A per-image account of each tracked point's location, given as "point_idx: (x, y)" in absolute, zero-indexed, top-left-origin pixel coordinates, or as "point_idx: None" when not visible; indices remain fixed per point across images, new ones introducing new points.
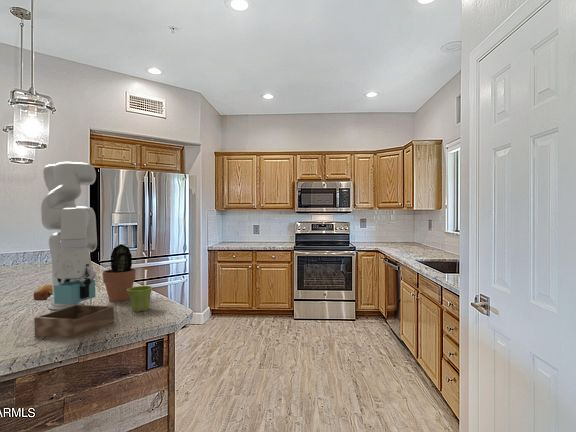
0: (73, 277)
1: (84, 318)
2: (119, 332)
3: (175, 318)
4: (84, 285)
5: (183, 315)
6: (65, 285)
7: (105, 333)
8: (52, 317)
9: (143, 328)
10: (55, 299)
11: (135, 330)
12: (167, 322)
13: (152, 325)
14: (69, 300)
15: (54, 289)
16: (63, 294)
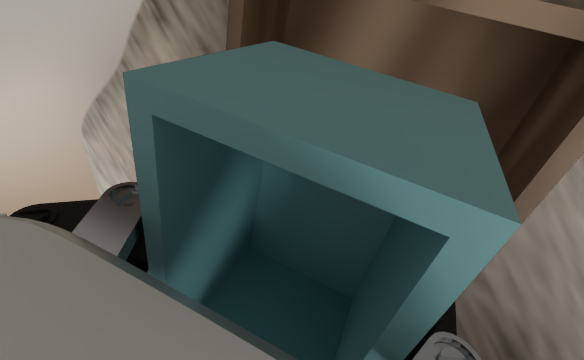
0: (74, 264)
1: (233, 18)
2: (163, 41)
3: (104, 168)
4: (117, 187)
5: (103, 191)
6: (220, 112)
7: (205, 32)
8: (525, 160)
9: (120, 81)
10: (463, 112)
11: (129, 61)
12: (99, 134)
13: (116, 111)
14: (273, 49)
15: (490, 169)
16: (323, 85)
